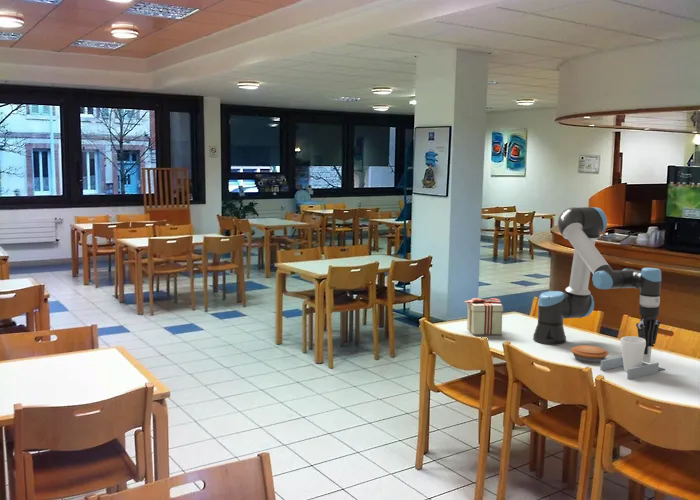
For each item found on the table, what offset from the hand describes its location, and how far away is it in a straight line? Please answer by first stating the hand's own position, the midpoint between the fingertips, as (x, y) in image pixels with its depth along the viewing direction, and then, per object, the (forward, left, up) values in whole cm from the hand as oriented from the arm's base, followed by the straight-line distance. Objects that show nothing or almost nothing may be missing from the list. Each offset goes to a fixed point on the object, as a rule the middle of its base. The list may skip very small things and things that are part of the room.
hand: (646, 361), depth 270 cm
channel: (0, -10, -3) cm, 11 cm away
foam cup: (0, -8, -3) cm, 9 cm away
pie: (-20, -10, -3) cm, 23 cm away
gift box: (-80, -18, -3) cm, 82 cm away
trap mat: (0, +2, -3) cm, 3 cm away
